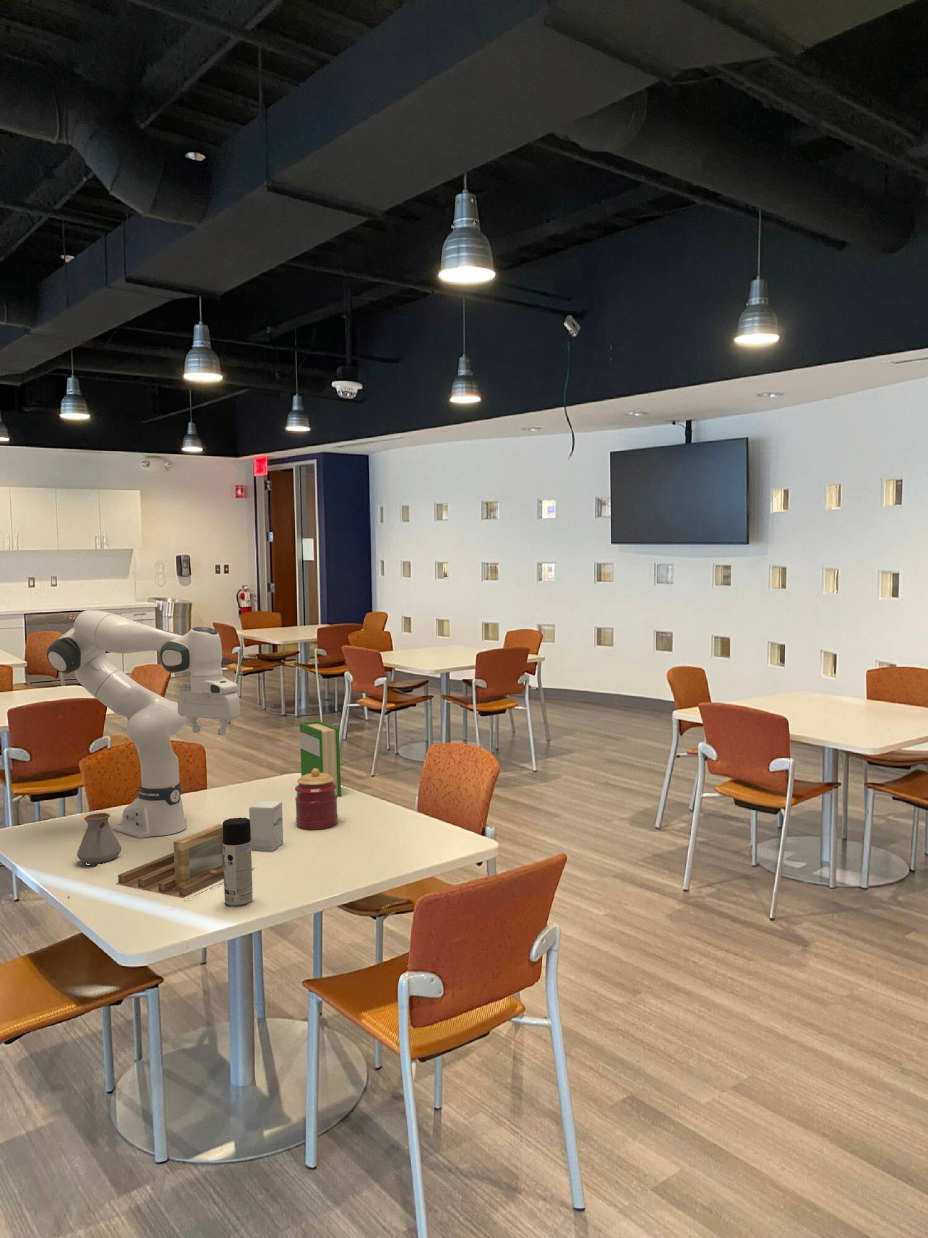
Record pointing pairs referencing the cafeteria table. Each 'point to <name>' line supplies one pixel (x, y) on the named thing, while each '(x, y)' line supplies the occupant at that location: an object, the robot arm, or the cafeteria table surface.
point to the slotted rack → (165, 878)
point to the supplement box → (266, 825)
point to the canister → (316, 801)
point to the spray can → (237, 861)
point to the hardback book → (320, 750)
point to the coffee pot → (98, 841)
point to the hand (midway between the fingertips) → (209, 733)
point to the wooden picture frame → (198, 855)
